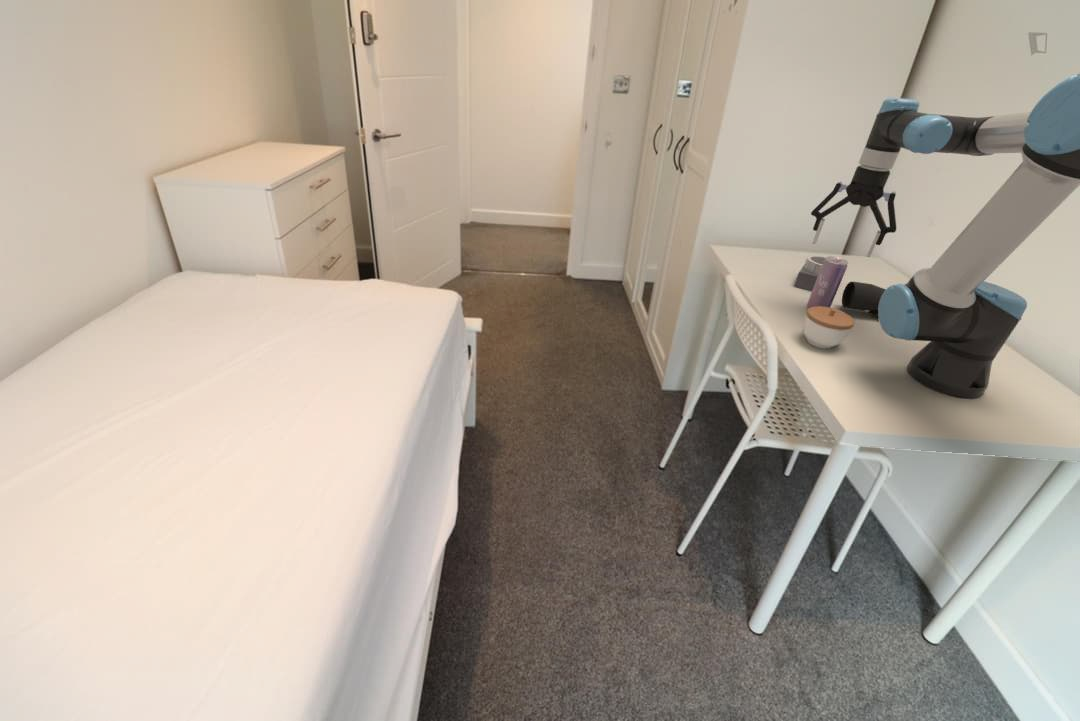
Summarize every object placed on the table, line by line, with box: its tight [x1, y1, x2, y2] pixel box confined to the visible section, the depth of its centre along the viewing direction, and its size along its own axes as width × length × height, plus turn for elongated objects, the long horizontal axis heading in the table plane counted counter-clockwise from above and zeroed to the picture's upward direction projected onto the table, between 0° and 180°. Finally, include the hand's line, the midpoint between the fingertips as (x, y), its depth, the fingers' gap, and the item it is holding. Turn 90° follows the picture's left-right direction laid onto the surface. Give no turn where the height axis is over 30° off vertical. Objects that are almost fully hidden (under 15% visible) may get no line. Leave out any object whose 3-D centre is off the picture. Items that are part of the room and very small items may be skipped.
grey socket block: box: [793, 254, 827, 292], centre depth 161 cm, size 14×10×8 cm
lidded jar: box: [802, 306, 855, 349], centre depth 127 cm, size 11×11×9 cm
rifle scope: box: [841, 281, 906, 319], centre depth 143 cm, size 10×26×10 cm, turn 78°
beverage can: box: [806, 256, 849, 309], centre depth 143 cm, size 6×6×15 cm
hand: (840, 249), depth 138 cm, fingers open, 13 cm apart
